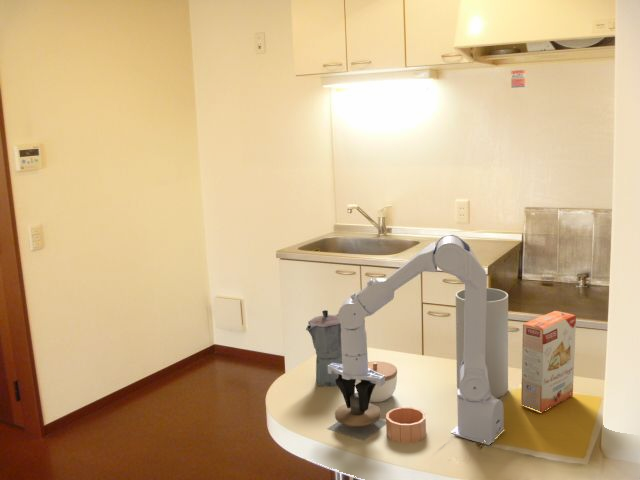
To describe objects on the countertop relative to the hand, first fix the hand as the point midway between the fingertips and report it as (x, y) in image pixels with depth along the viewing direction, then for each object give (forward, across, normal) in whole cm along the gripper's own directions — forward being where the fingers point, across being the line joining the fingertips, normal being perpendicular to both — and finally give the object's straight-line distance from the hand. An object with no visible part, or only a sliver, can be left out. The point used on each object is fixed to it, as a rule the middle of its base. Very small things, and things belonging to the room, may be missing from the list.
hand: (357, 408), depth 152 cm
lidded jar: (+5, -5, +15) cm, 17 cm away
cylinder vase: (+5, +15, +33) cm, 37 cm away
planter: (+5, +11, +3) cm, 12 cm away
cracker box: (+5, +31, +35) cm, 47 cm away
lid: (+2, 0, 0) cm, 2 cm away
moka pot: (+5, -21, +18) cm, 28 cm away
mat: (+5, 0, 0) cm, 5 cm away
